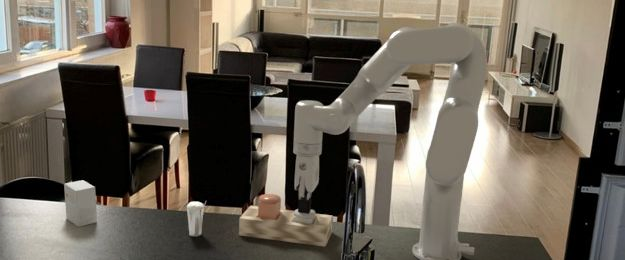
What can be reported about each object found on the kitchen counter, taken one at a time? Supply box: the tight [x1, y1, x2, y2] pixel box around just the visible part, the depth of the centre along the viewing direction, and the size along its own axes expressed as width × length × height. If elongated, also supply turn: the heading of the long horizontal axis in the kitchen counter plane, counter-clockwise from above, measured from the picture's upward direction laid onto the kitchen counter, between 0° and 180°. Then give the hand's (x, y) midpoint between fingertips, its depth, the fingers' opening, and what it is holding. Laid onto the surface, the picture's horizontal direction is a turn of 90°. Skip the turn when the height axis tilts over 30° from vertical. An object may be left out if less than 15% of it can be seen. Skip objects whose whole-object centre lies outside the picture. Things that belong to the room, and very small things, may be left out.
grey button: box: [293, 208, 317, 224], centre depth 168 cm, size 6×6×6 cm
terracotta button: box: [257, 193, 282, 220], centre depth 169 cm, size 6×6×6 cm
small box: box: [63, 179, 98, 227], centre depth 171 cm, size 8×6×10 cm
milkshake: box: [186, 201, 207, 237], centre depth 165 cm, size 4×5×10 cm
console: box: [238, 205, 334, 248], centre depth 169 cm, size 24×10×5 cm, turn 78°
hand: (304, 212), depth 167 cm, fingers closed
